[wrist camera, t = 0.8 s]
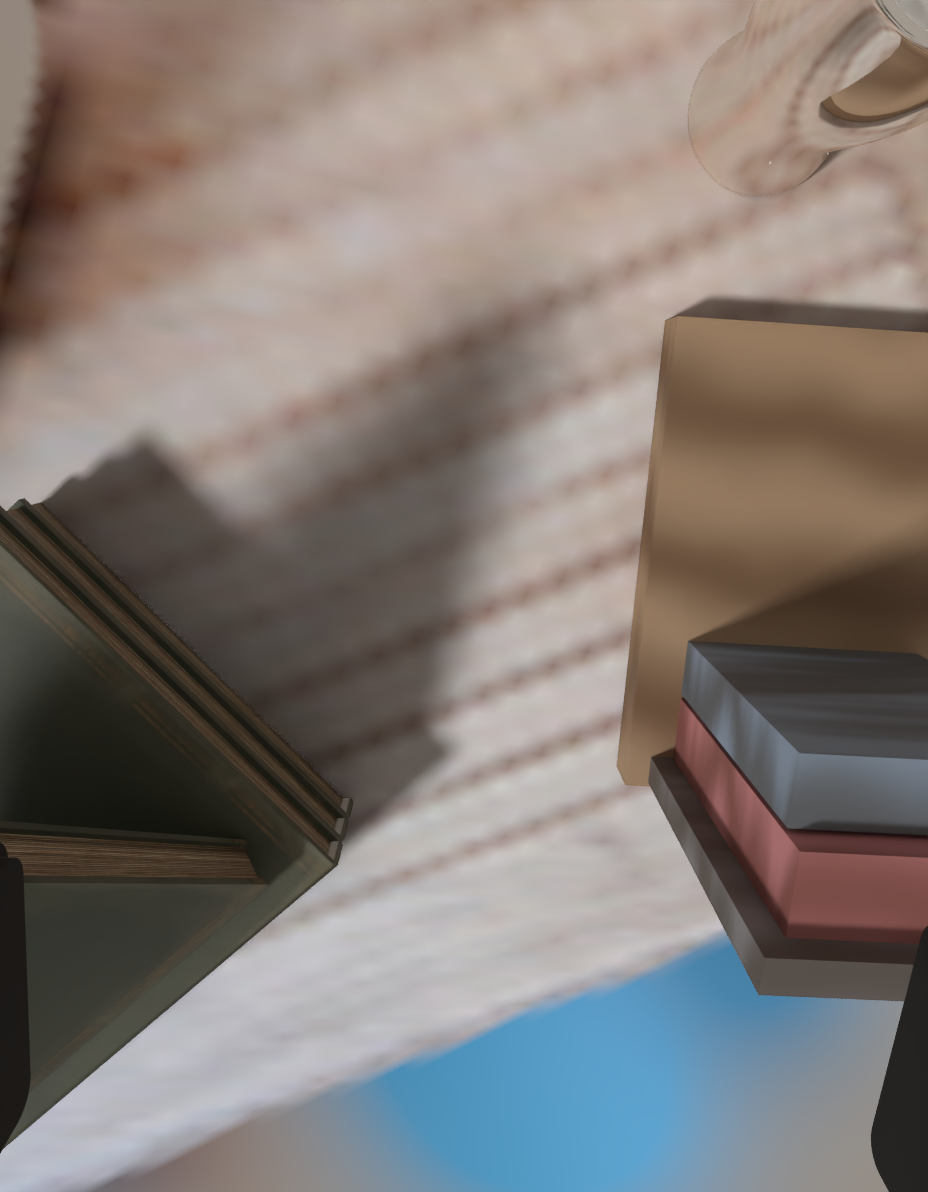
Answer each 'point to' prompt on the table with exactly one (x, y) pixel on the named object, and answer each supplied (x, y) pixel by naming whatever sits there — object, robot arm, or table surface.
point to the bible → (131, 806)
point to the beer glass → (808, 88)
